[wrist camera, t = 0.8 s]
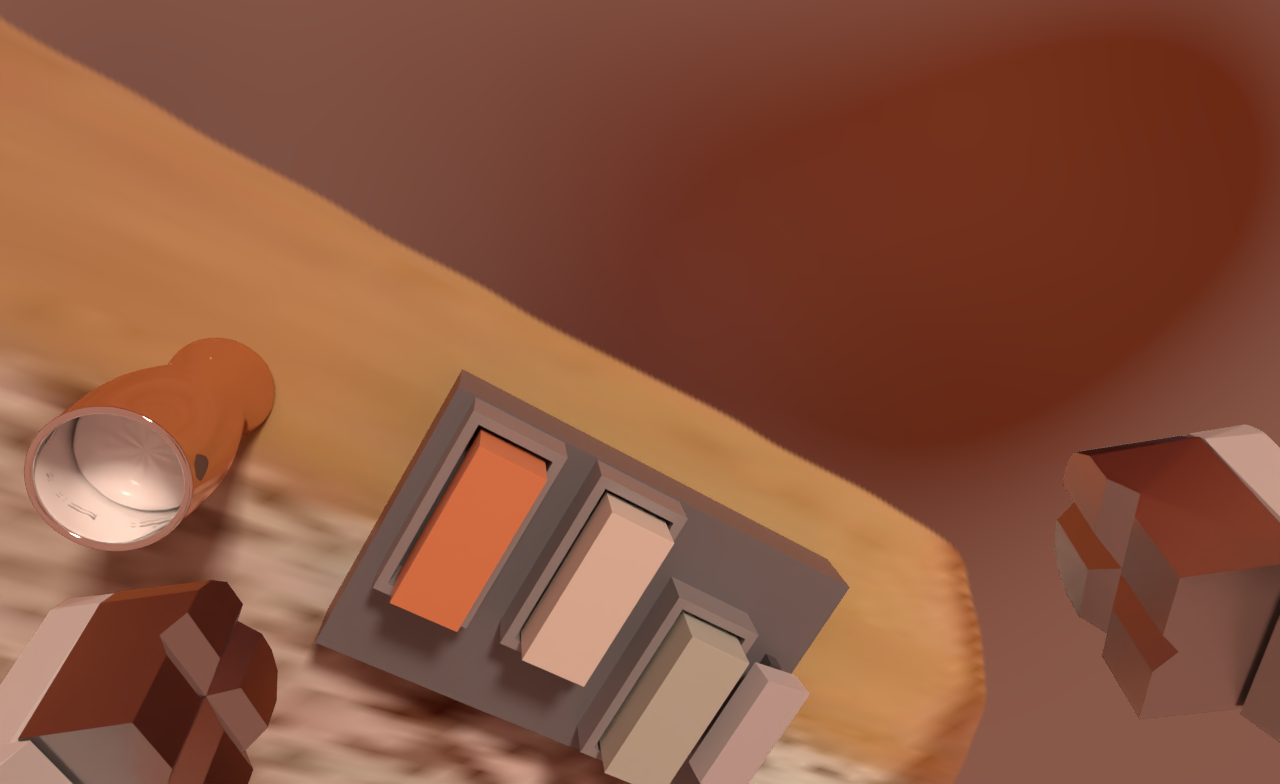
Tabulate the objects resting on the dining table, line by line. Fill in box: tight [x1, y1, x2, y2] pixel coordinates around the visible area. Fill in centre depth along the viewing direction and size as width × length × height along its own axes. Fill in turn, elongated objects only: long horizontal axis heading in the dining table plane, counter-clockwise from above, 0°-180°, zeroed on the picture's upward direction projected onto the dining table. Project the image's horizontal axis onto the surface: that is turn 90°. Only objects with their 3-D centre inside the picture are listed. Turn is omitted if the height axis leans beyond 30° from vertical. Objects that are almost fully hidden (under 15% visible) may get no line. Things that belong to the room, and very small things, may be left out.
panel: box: [315, 369, 849, 784], centre depth 54 cm, size 28×18×7 cm, turn 59°
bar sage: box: [599, 610, 749, 784], centre depth 52 cm, size 4×10×3 cm, turn 149°
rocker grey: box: [689, 662, 810, 784], centre depth 55 cm, size 4×8×2 cm, turn 149°
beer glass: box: [24, 338, 275, 551], centre depth 44 cm, size 7×7×15 cm
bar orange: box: [390, 429, 547, 632], centre depth 47 cm, size 4×10×3 cm, turn 149°
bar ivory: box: [521, 492, 674, 687], centre depth 49 cm, size 4×10×3 cm, turn 149°
